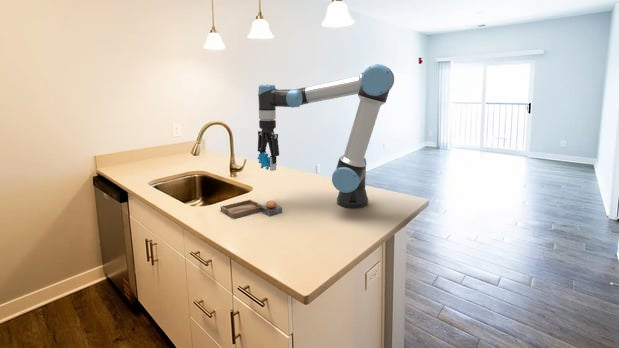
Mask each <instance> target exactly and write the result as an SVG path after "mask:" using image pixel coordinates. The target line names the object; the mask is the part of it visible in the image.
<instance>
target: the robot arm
mask: <svg viewBox="0 0 619 348" xmlns="http://www.w3.org/2000/svg"><path fill="white" fill-rule="evenodd" d="M394 83H395V75H394V73H393V71H392V70H391V69H390V68H389V67H387V66H386V65H383V64H379V63H377V64H376V63H375V64H372V65H370V66H368V67H367V68H365V70H364V71H363V72H360V74H359V75H356V76H353V77H347V78H343V79H339V80H334V81H329V82H324V83H319V84H315V85H310V86H305V87H300V88H295V89H294V88H293V89H292V88H291V89H277V88H276V85H275V84H260V85H259V86H258V90H257V91H258V92H257V93H258V94H257V96H258V119H259V120H258V123H259V124H258V127H259V129H260V130H258V131H257V138H258V139H257V152H259V154H261V153H262V152H263V153H265V154H264V156H266V153H267V151H266V150H267V147H268V148H269V152H270V155H269V157H270V167H269V171H270V172H274V171H277V165H276V164H277V161H276V160H277V157H279V156H280V149H279V134H278V133H275V130H274V129H276V127H277V121H276V119H277V118H276V117H277V116H276V110H277V109H276V108H277V107H279V108H280V107H281V108H282V107H284V108H300V107H301V106H303V105H308V104H312V103H318V102H323V101H327V100H328V101H329V100H333V99H338V98H343V97H349V96H354V95H357V96H358V99H359V104H358V106H357V110H356V113H355V117H354V120H353V123H352V127H351V128H350V129H351V130H350V133H349V137H348V139H347V140H348V141H347V143H346V147H345V150H344V153H343V155H341V156H339V158H338V161H337V165H336V169H335V170H334V171H333V173H332V175H331V182H332V185H333V187H334V188H335V189H336V190H337V191H338V193H337V194H338V195H337V198H336V204H337V205H338V206H340V207H343V208H348V209H360V208H365V207H367V206H368V205H369V197H368V194H367V190H366V174H367V172H366V171H367V170H366V169H367V159H366V157H365V156H366V153H367V150H368V147H369V144H370V141H371V137H372V133H373V131H374V127H375V124H376V122H377V121H376V120H377V119H378V115H379V113H380V108H381V106H383V105H384V104H386V102H387V99H388V96H389V93H390V90H391V89H392V88H393V86H394ZM267 145H268V146H267ZM262 157H263V156H262ZM261 165H262V163H260V166H261ZM266 167H267V166H264V167H263V168H266ZM366 205H367V206H366ZM364 206H365V207H364Z"/></svg>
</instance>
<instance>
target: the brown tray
mask: <svg viewBox="0 0 619 348" xmlns="http://www.w3.org/2000/svg"><path fill="white" fill-rule="evenodd" d="M262 206H264V205H263V204H260V203H258V202H256V201H254V200H253V199H246V200H244V201H239V202H235V203H230V204H226V205H222V206H220V207H219V209H220V212H221V213H223V214H225V215H227V216H228V217H230V218H232V219H233V220H235V219H240V218H243V217H247V216H251V215H255V214H258V213H262V212H261V208H260V207H262Z"/></svg>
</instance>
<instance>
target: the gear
mask: <svg viewBox="0 0 619 348" xmlns="http://www.w3.org/2000/svg"><path fill="white" fill-rule="evenodd" d="M264 154H265V153H263V152H262V153H261V154H260V153H259V154H258V157H257V160H258V163H259V164H260V169H263V168H265V170H266V171H268V170H270V154H269V153H267V152H266V156H264ZM262 156H263V157H262ZM276 162H277V159H276ZM261 163H262V165H261ZM264 166H267V167H264ZM276 166H277V163H276Z"/></svg>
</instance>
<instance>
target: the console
mask: <svg viewBox="0 0 619 348" xmlns="http://www.w3.org/2000/svg"><path fill="white" fill-rule="evenodd" d="M260 208H261V212H260V213H262V214H263V215H266V216H268V217H272V216H274V215H275V216H276V215H278V214H282V213H283V207H282V206H280V205H278V204H276V207H273V208H271V209H270V208H269V207H266V205H263V206H262V207H260Z"/></svg>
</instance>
